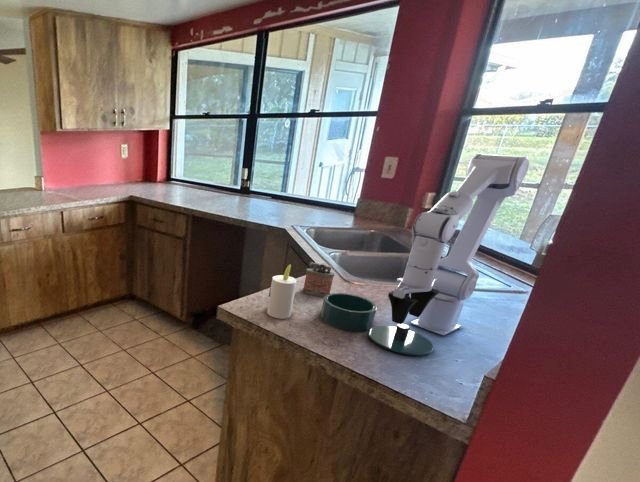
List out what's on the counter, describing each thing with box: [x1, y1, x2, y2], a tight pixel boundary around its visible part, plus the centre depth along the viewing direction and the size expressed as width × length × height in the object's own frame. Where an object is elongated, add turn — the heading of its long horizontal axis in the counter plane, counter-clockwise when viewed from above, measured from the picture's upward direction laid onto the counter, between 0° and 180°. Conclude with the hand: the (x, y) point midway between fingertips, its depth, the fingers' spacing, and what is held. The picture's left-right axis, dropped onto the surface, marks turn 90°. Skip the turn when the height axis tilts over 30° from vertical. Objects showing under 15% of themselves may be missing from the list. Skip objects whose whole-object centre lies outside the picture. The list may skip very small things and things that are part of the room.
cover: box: [367, 323, 434, 356], centre depth 99 cm, size 14×14×5 cm
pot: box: [320, 292, 378, 332], centre depth 110 cm, size 13×13×5 cm
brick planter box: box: [302, 261, 336, 298], centre depth 126 cm, size 8×3×10 cm, turn 58°
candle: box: [266, 263, 298, 320], centre depth 111 cm, size 6×6×15 cm
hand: (405, 318), depth 97 cm, fingers open, 7 cm apart
